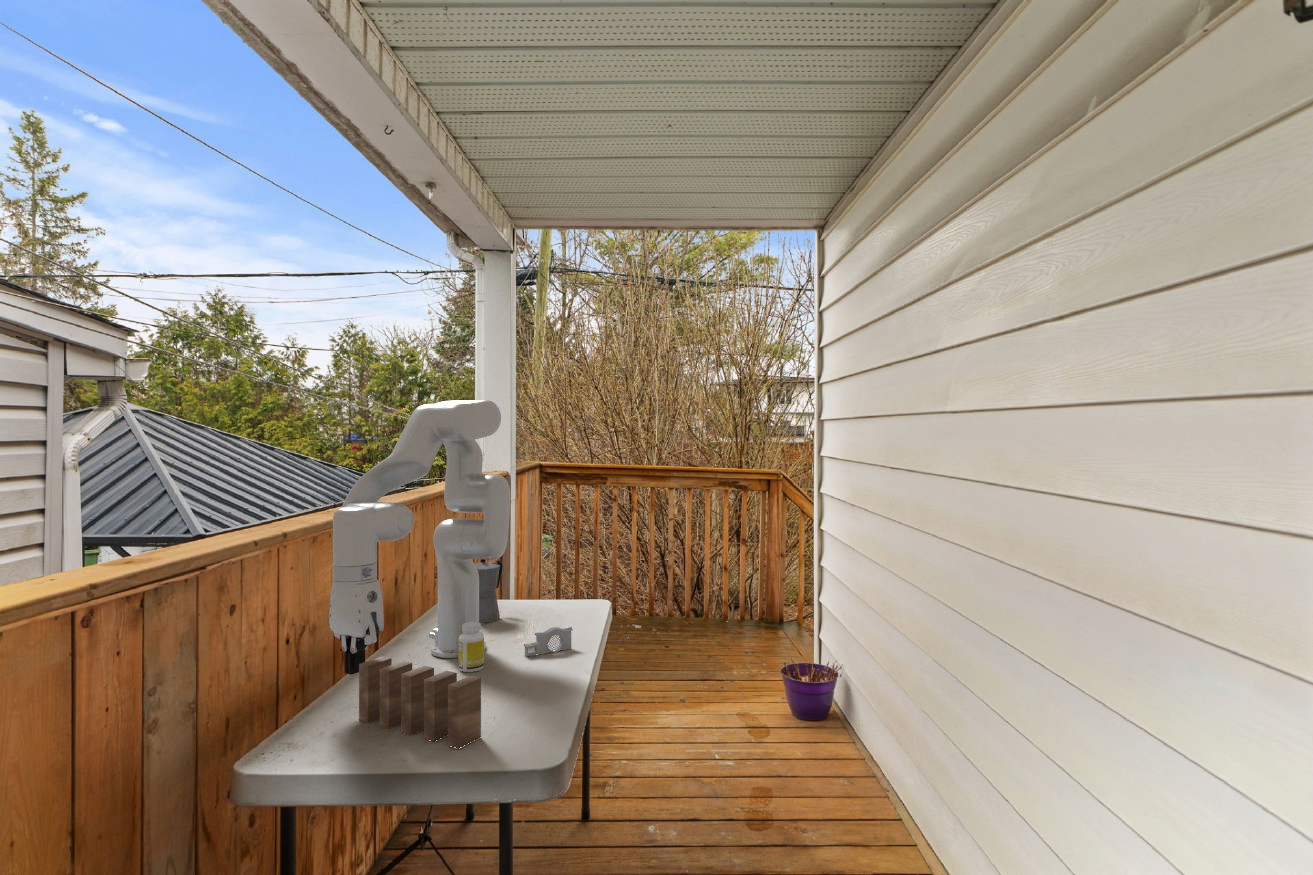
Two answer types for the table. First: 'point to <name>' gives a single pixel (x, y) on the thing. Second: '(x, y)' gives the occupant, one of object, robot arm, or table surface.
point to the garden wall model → (544, 637)
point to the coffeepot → (488, 590)
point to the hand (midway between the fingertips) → (354, 671)
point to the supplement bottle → (471, 647)
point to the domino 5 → (464, 711)
